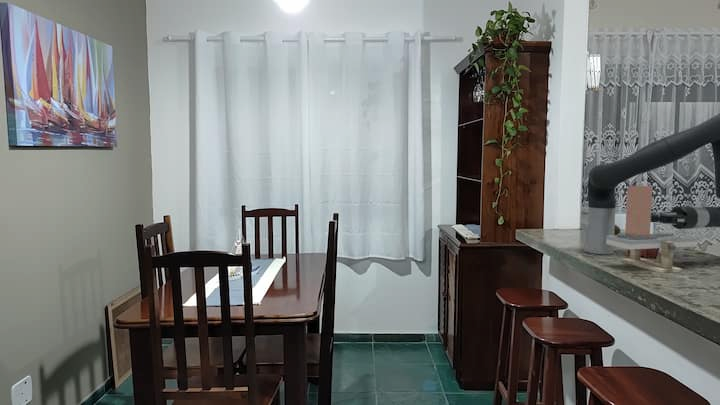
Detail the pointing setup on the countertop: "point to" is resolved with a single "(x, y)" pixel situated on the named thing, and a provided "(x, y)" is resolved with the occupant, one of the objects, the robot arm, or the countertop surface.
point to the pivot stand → (652, 265)
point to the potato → (616, 230)
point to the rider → (638, 213)
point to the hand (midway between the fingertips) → (645, 218)
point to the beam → (651, 241)
